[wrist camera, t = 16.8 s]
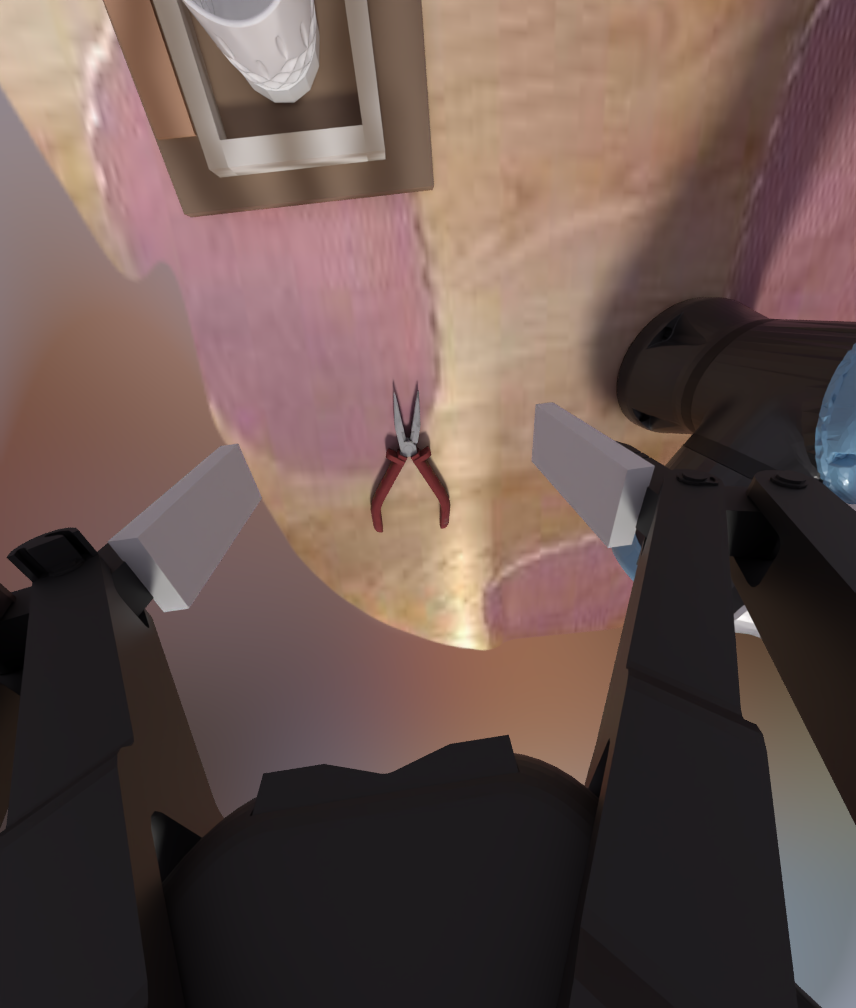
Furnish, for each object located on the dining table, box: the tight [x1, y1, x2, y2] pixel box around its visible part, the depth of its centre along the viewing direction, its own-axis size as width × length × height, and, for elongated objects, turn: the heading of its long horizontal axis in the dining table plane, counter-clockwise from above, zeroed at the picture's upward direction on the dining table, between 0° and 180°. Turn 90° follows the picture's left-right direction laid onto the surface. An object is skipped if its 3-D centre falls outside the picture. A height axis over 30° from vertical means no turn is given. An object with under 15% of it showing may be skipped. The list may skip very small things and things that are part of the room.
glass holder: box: [103, 0, 434, 217], centre depth 24 cm, size 22×18×3 cm
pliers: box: [371, 390, 450, 532], centre depth 44 cm, size 12×20×3 cm, turn 0°
